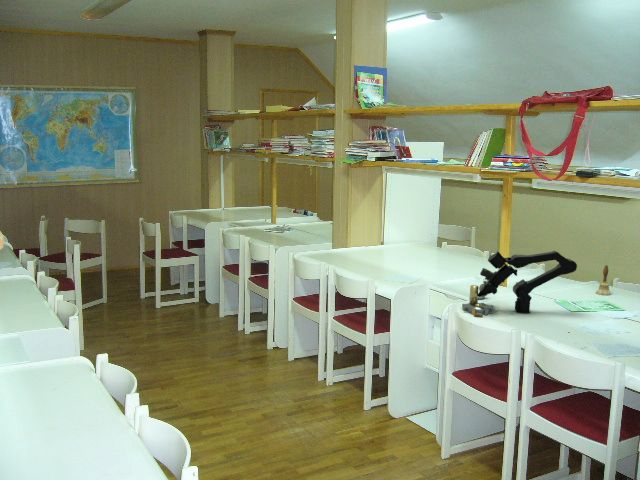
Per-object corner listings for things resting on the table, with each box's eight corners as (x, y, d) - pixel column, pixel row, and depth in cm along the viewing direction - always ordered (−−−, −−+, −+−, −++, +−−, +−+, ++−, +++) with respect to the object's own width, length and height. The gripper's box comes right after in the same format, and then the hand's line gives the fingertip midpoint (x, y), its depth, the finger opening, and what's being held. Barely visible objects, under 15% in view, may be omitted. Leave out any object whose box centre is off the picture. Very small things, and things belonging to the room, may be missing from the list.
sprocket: (484, 305, 339) (485, 284, 337) (500, 313, 324) (502, 291, 322) (456, 306, 335) (457, 285, 333) (471, 315, 320) (472, 292, 318)
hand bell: (608, 292, 374) (611, 264, 372) (613, 295, 366) (616, 267, 364) (593, 291, 375) (595, 263, 373) (598, 295, 367) (600, 266, 364)
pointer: (482, 316, 321) (482, 313, 321) (482, 317, 318) (482, 315, 318) (474, 315, 322) (474, 312, 322) (474, 317, 319) (474, 314, 319)
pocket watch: (470, 298, 354) (471, 280, 352) (474, 295, 361) (475, 277, 360) (486, 300, 350) (487, 282, 349) (489, 297, 358) (490, 279, 356)
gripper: (490, 259, 338) (467, 280, 342) (490, 266, 320) (466, 288, 324) (505, 275, 337) (482, 295, 342) (507, 283, 319) (482, 304, 324)
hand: (478, 295), depth 333 cm, fingers closed, pressing on sprocket
